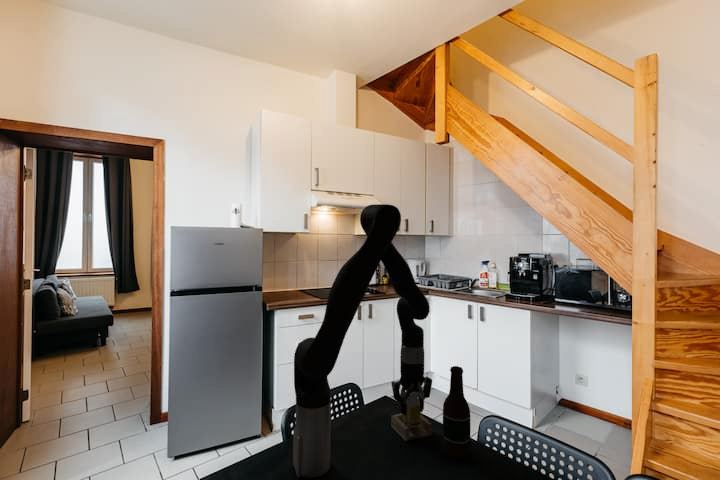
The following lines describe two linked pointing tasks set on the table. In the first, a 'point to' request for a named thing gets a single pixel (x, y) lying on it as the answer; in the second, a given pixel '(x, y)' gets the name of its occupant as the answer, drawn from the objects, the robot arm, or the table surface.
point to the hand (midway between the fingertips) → (411, 412)
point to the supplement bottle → (412, 411)
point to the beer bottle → (456, 418)
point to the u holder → (411, 432)
